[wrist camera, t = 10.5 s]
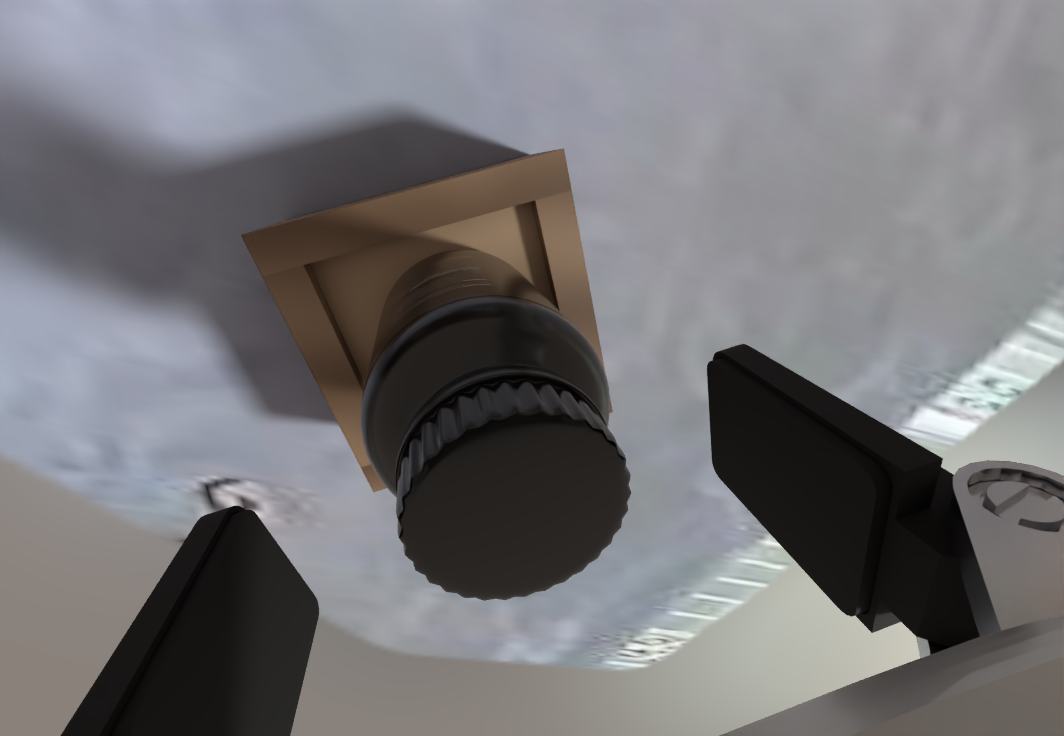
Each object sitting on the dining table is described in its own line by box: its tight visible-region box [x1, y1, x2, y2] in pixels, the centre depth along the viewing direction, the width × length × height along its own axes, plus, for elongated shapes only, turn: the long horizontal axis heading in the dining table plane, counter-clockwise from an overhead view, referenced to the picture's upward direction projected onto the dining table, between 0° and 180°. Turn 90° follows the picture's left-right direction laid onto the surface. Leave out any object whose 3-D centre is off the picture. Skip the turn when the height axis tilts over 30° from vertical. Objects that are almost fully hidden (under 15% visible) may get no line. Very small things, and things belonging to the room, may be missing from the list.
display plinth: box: [241, 149, 612, 492], centre depth 21 cm, size 12×12×6 cm
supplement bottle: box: [360, 250, 631, 601], centre depth 14 cm, size 7×7×12 cm
